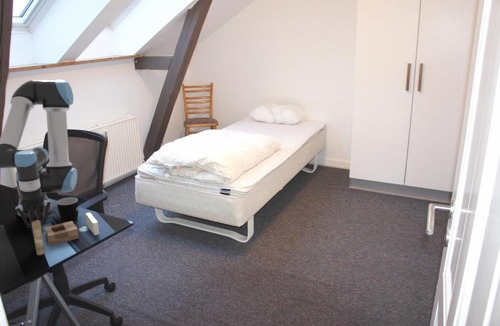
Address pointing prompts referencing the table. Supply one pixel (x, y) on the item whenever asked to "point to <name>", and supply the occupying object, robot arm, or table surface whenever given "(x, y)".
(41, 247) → the dowel
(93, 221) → the rail
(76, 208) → the mug
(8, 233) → the table surface
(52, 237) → the block
